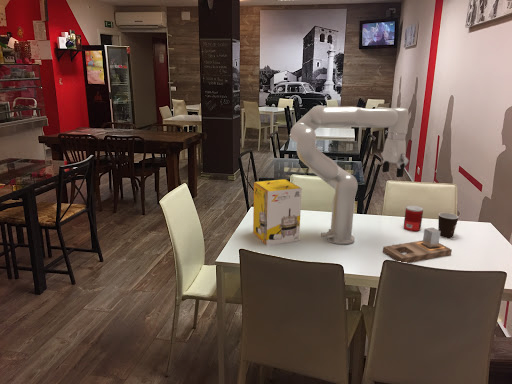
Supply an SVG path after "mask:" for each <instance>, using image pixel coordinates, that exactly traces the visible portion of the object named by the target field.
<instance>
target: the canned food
mask: <svg viewBox="0 0 512 384" xmlns="http://www.w3.org/2000/svg"><path fill="white" fill-rule="evenodd" d="M404 211H405V213H404V220H403V221H404V222H403V228H404V229H405V230H406V231H410V232H420V231H421V228H422V223H423V222H422V221H423V213H424V208H423V207H421V206H418V205H407V206H406V207H405V210H404Z"/></svg>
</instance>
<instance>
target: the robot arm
mask: <svg viewBox="0 0 512 384" xmlns="http://www.w3.org/2000/svg"><path fill="white" fill-rule="evenodd" d="M408 120H409V110H408V109H407V108H405V107H393V108H391V107H382V106H378V107H375V108H364V107H359V106H325V105H320V104H318V105H316V106H314V107H312V108H310V109H309V111H307V113H305V114H304V115H303V116H302V117H301V118H300V119H299V120H298V121H297V122H295V123H294V125H292V127H291V129H290V133H289V134H290V137H291V139H292V140H293V141H294V142H295V143H296V155H297V156H298V158H299V160H300V162H302V163H303V164H304V165H305V166H306V167H308V168H309V169H310V170H311V172H312V173H313V174H314V175H316V177H318V178H319V179H321V180H322V181H324V182H325V183H326V184H327V185H329V187H331V188H332V189H334V196H333V198H332V204H331V205H332V207H331V219H330V220H331V221H330V223H331V224H330V228H329V229H328V231H327V232H321V233H320V236H321V238H325V237H326V239H327V241H328V242H331V243H332V244H335V245H336V244H337V245H344V246H345V245H350V244H353V243H354V242H355V236H354V235H353V234H352V233H353V222H354V210H355V209H354V208H355V201H356V199H355V198H356V195H357V191H358V180H357V178H356V177H355V176H354V175H353V174H352V173H350V172H348V171H346V170H344V169H343V168H342V167H341V166H339V165H338V163H336V161H334V160H333V159H332V158H330V157H328V156H327V155H325V154H324V153H323V152H322V151H321V150H319V149H318V147H317V145H316V144H317V143H316V140H317V135H316V132H315V131H316V130H317V129H319V127H322V128H375V129H378V128H379V129H380V128H381V129H382V128H388V129H387V131H388V132H387V138H386V139H385V141H384V142H385V143H384V145H383V151H382V152H381V153H380V155H381V160H382V161H381V162H382V169H381V172H383V173H388V172H389V171H390V165H391V163H392V164H396V165H397V168H396V175H395V177H396V178H403V176H404V172H405V171H404V169H406V167H407V166H408V163H409V158H408V157H406V154H407V153H406V152H407V149H406V148H407V147H406V146H407V144H406V142H407V141H406V137H407V128H408V122H409V121H408Z"/></svg>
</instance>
